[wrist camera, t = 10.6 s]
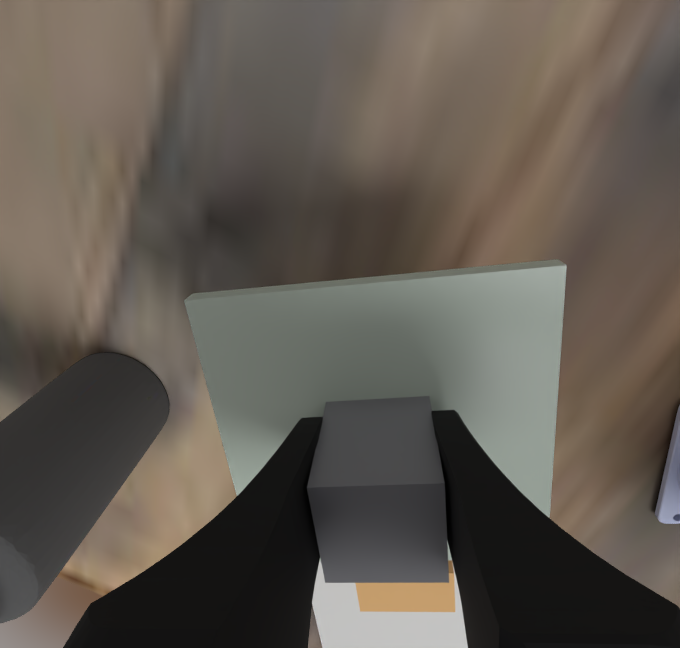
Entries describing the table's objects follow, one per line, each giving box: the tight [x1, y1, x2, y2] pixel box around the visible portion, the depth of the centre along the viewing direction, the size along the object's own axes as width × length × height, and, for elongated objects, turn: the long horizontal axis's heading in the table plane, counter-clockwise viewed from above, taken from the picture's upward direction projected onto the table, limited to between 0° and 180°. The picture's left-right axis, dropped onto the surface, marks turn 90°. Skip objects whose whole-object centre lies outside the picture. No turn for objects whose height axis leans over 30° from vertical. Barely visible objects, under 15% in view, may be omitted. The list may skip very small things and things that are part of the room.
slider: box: [355, 560, 455, 612], centre depth 24 cm, size 3×5×2 cm, turn 97°
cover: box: [184, 259, 567, 583], centre depth 12 cm, size 10×10×4 cm
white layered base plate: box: [312, 562, 468, 648], centre depth 28 cm, size 18×12×2 cm, turn 7°
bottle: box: [0, 353, 169, 623], centre depth 18 cm, size 6×6×15 cm
